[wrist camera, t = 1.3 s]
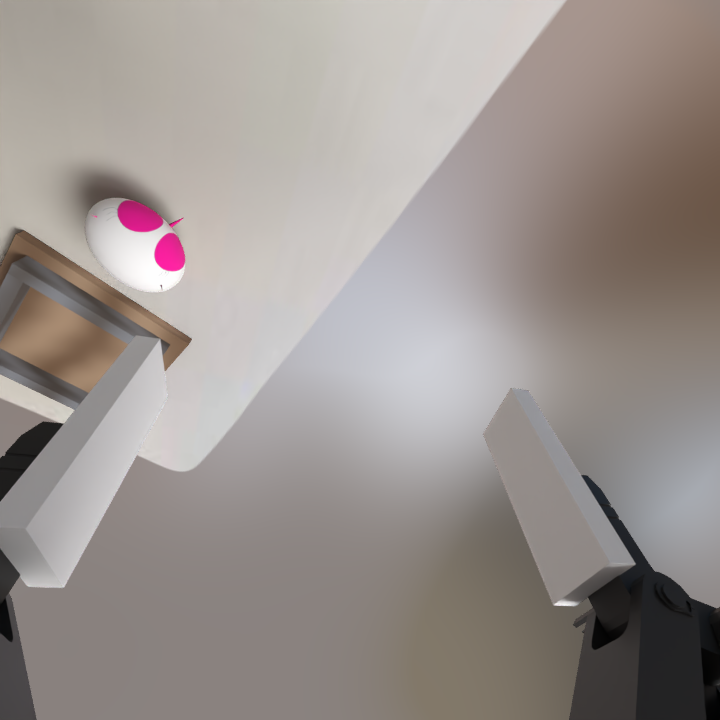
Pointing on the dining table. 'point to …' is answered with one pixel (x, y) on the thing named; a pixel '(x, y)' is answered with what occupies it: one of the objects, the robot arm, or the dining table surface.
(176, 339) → the cradle
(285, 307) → the dining table surface
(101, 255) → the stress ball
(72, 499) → the robot arm
